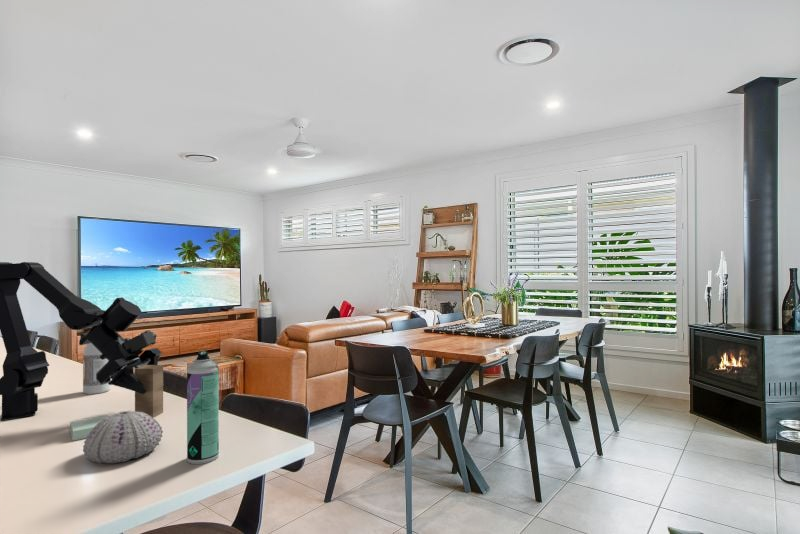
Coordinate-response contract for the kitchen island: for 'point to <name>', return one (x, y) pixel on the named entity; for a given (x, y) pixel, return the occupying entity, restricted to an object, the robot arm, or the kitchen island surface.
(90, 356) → the bath foam
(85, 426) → the green plinth
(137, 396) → the walnut block
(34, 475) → the kitchen island surface
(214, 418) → the spray can
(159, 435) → the sea urchin shell
